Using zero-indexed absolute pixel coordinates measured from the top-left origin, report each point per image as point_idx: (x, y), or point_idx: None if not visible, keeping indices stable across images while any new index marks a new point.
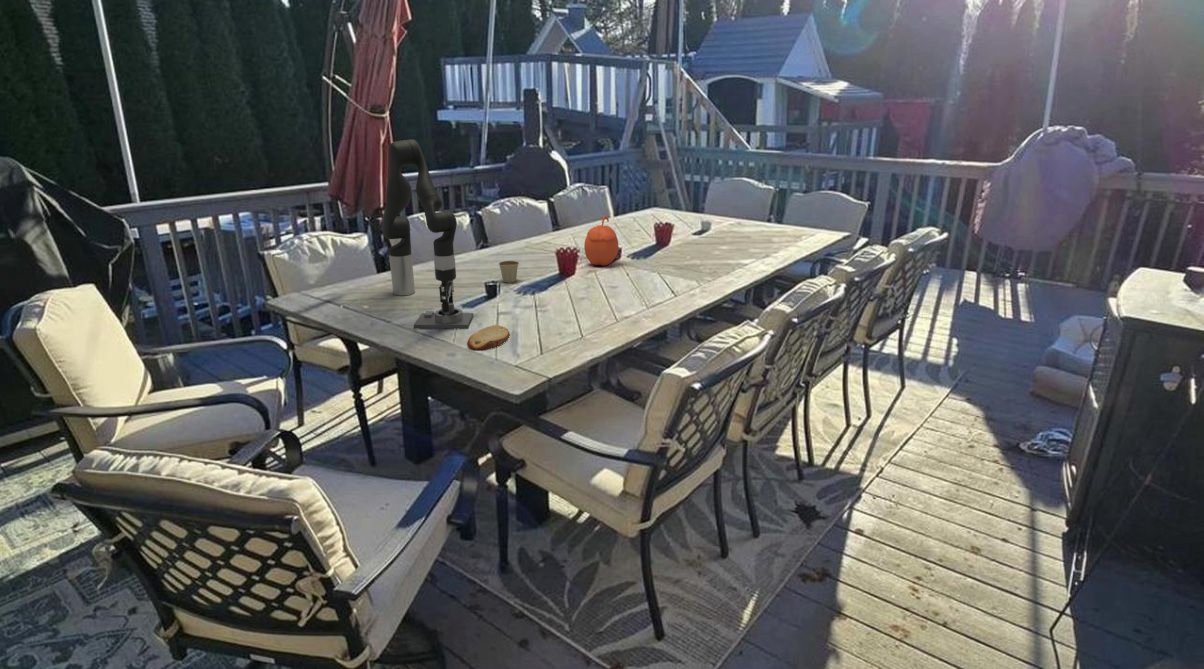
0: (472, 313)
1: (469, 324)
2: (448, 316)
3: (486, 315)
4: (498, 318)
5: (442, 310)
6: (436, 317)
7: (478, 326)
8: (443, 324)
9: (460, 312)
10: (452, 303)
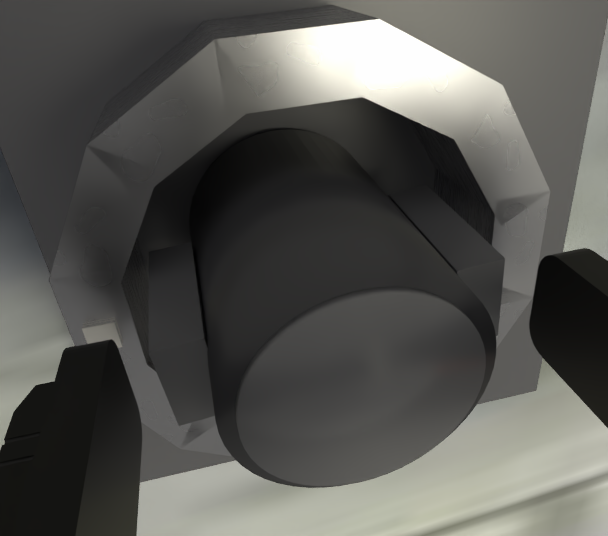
0: (519, 389)
1: None
2: None
3: (529, 441)
4: (443, 533)
5: (234, 254)
6: (119, 107)
7: (227, 493)
8: (56, 228)
9: None
10: (409, 457)
